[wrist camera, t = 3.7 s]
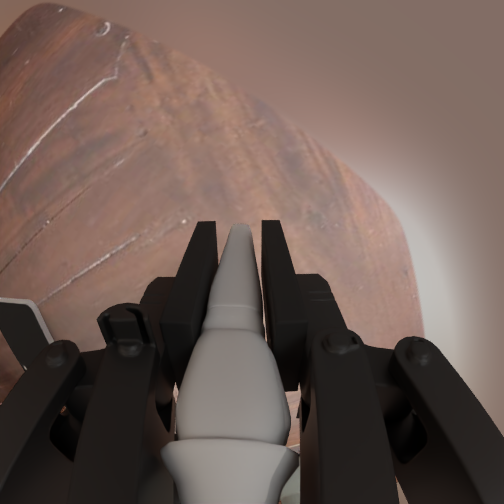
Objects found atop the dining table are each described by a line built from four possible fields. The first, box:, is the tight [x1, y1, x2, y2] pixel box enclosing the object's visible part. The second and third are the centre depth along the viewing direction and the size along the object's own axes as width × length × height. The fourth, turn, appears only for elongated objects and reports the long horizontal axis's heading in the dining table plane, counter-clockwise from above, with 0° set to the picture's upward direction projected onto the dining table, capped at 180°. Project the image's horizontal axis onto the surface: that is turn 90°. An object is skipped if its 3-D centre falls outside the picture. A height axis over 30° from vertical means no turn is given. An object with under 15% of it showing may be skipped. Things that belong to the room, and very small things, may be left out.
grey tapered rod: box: [160, 224, 299, 504], centre depth 9 cm, size 2×3×14 cm
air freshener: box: [280, 456, 300, 504], centre depth 28 cm, size 11×8×10 cm
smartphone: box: [0, 298, 54, 371], centre depth 23 cm, size 8×1×15 cm
